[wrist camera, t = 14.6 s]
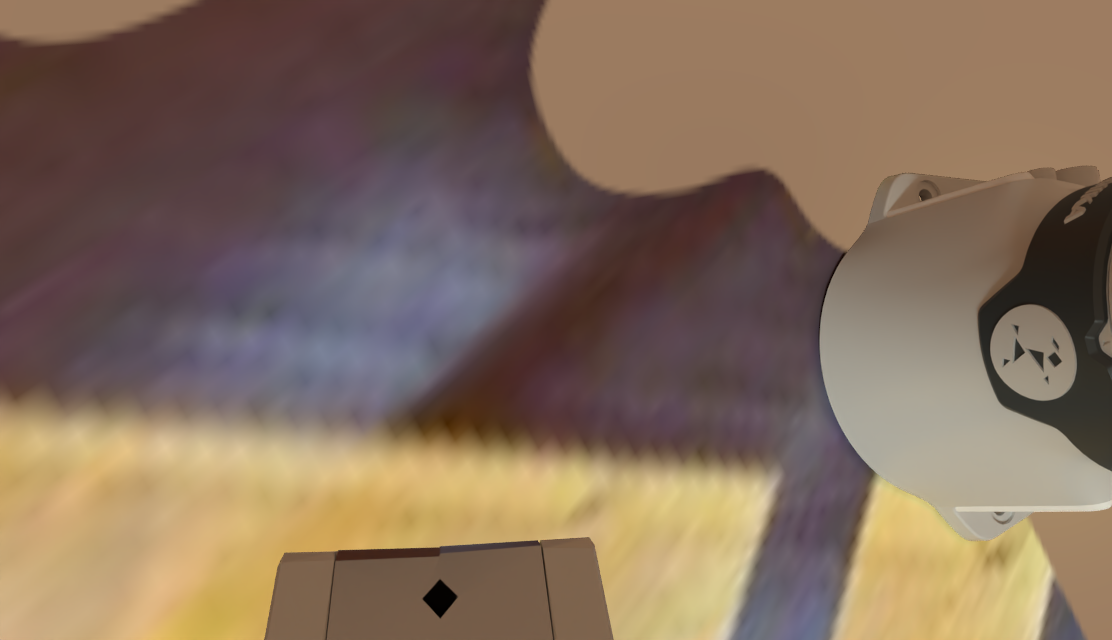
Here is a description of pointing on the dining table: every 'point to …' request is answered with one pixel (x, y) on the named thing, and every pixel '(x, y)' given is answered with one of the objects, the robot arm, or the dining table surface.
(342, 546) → the dining table surface
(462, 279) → the dining table surface
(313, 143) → the dining table surface
